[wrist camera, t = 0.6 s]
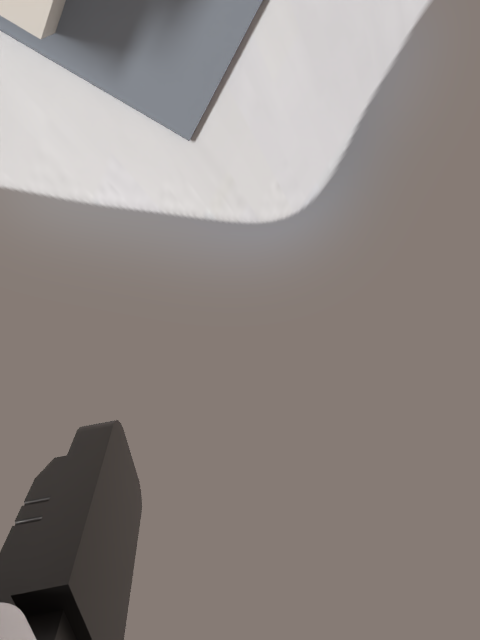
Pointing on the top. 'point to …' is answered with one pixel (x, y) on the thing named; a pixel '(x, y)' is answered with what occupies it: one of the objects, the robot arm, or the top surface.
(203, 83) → the mat
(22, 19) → the white rectangular block
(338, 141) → the top surface
